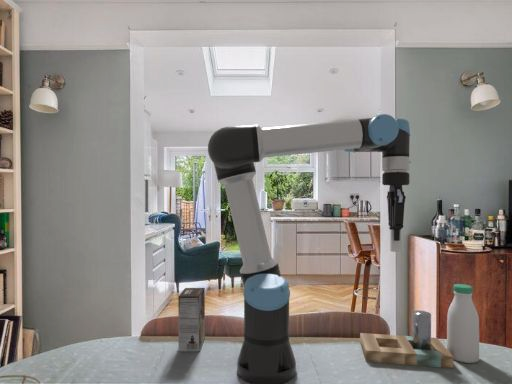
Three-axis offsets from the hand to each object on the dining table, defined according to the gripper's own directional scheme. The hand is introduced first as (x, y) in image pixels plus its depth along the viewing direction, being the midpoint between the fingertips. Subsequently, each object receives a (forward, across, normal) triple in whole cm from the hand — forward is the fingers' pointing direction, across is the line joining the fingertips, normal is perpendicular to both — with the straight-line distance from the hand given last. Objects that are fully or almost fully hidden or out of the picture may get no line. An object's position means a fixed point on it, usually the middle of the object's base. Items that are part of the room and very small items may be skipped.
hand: (395, 251), depth 104 cm
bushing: (+28, -5, -6) cm, 29 cm away
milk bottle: (+29, -4, -17) cm, 34 cm away
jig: (+28, -5, -1) cm, 29 cm away
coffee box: (+29, -9, +60) cm, 67 cm away
